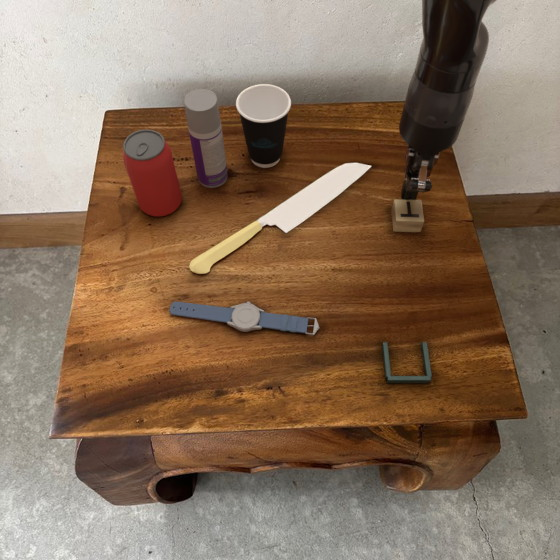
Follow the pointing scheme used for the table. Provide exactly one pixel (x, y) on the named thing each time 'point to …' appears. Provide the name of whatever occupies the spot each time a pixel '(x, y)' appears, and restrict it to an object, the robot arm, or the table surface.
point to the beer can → (152, 172)
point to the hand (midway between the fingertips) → (408, 196)
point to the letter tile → (407, 215)
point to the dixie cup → (264, 122)
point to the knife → (286, 212)
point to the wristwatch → (244, 317)
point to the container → (206, 137)
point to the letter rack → (407, 378)
